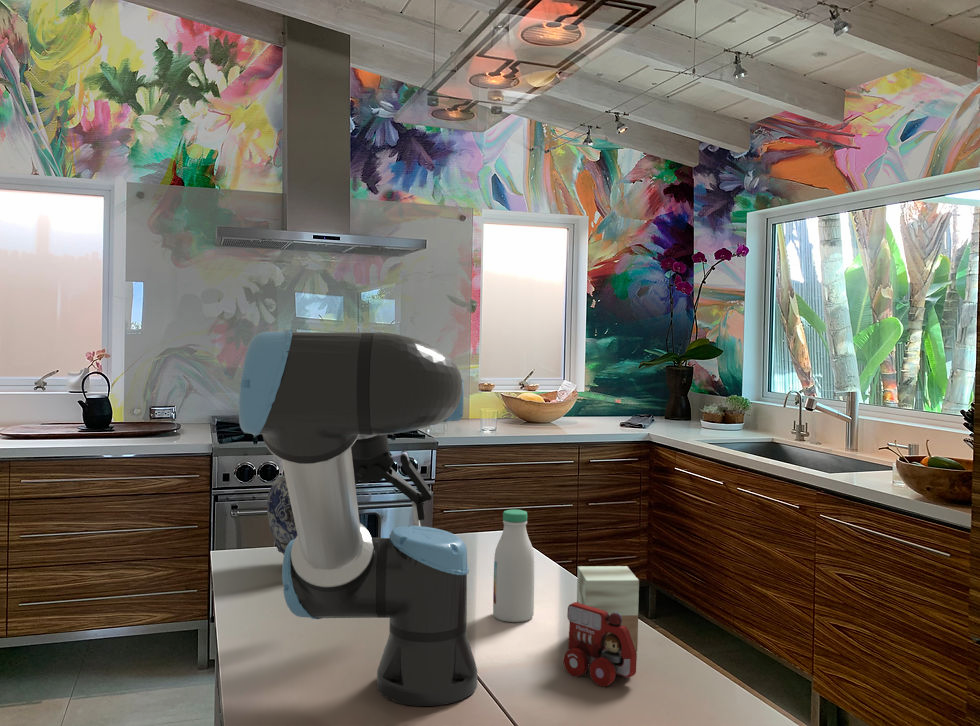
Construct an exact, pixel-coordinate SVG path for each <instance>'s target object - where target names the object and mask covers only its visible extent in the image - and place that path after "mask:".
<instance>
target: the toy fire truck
mask: <svg viewBox="0 0 980 726" xmlns="http://www.w3.org/2000/svg"><path fill="white" fill-rule="evenodd" d="M567 620H568V621H569V627H568V628H569V629H568V645H567V646H568V648H567V651H566V652H565V653H564V656H563V665H564V668H565V671H567V673H568V674H569V675H571V676H572V677H580V676H582V675H584V674H586V673H587V672H588V670H589V675H590V678H591V679H592V681H593V683H595V684H596V685H598V686H599V687H608V686H609V685H612V684H613V682H615V678H616V675H617V676H618V677H624V678H627V679H628V678H631V677H634V676H635V675H636V673H637V660H638V659H637V658H638V653H637V650H635V647H634V644H633V642H632V639H631V636H630V633H629V630H628V628H627V627H626V626H624V625H621V623H622V617H621V615H620V614H618V613H612V614H611V615H610V616H609V614H608V613H607V612H606V611H604V610H601V609H597V608H594V607H590V606H587V605H584V604H580V603H577V601H576V602H572V603H570V604H568V606H567ZM608 633H610V634H608ZM607 634H608V635H607Z"/></svg>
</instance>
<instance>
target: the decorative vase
mask: <svg viewBox="0 0 980 726" xmlns="http://www.w3.org/2000/svg"><path fill="white" fill-rule="evenodd" d="M266 505H267V506H266V507H267V520H268V525H269V528H270V531H271V533H272V537H273V542H274V543H275V546H276V549H277V551H278V552H279V553H281V554H282V555H284V553H285V550H286V547H287V545H288V543H289V542H290V541H291V540H293V539H295V538H296V537H297V530H296V526H295V521H294V516H293V512H292V507H291V502H290V497H289V493H288V488H287V483H286V479H285V474H283V475H282V476H280V477H279V478H278V479H276V480H275V482H274V483H273V484H272V485H271V487H270V489H269V491H268V495H267V503H266Z"/></svg>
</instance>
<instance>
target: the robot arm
mask: <svg viewBox="0 0 980 726" xmlns="http://www.w3.org/2000/svg"><path fill="white" fill-rule="evenodd" d="M464 388H465V386H464V379H463V378H462V375H461V372H460V370H459V368H458V366H457V364H456V363H455V361H454V360H453V359H452V358H451V357H450V356H449V355H447V354H446V353H445V352H443V351H442V350H441V349H439V348H437V347H436V346H433V345H430V343H429V344H428V343H426V342H424V341H421V340H418V339H416V338H413V337H410V336H405V335H401V334H396V333H390V332H376V331H375V332H359V331H357V332H347V331H346V332H341V331H340V332H336V331H335V332H331V331H329V332H326V331H325V332H323V331H321V332H320V331H318V332H317V331H316V332H315V331H310V332H309V331H305V332H304V331H293V330H292V329H286V330H277V331H275V330H273V331H263V332H259V333H258V334H256V335H255V336H253V338H251V340H250V341H249V343H248V347H247V348H246V352H245V355H244V361H243V366H242V371H241V377H240V386H239V395H238V396H239V399H238V420H239V421H238V422H239V427H240V430H241V431H242V432H243V433H246V434H251V435H253V436H254V437H255V436H256V437H257V436H259V435H261V436H262V439H263V443H264V445H265V446H266V448H267V449H268V450H269V452H270V453H271V454H272V455H274V457H276V458H278V459H280V460H281V463H282V468H283V475H285V479H286V483H287V488H288V493H289V497H290V502H291V507H292V512H293V516H294V521H295V526H296V530H297V537H296V538H295V539H293V540H291V541H290V542H289V543H288V545H287V547H286V550H285V553H284V554H283V560H282V568H281V571H282V572H281V578H282V579H281V580H282V584H283V597H284V600H285V603H286V606H287V608H288V609H289V611H290V612H291V613H292V614H293V615H294V616H296V617H298V618H310V619H312V620H321V619H376V618H377V619H378V618H379V619H381V618H383V619H385V618H387V619H389V628H388V629H389V631H388V632H389V633H388V638H387V640H386V644H385V646H384V649H383V653H382V655H381V659H380V661H379V665H378V668H377V671H376V672H377V673H376V688H377V691H378V693H380V695H382V696H383V697H385V698H386V699H388V700H389V701H392V702H395V703H398V704H402V705H406V706H416V707H434V706H435V707H436V706H443V705H448V704H452V703H456V702H457V703H458V702H459V701H463V700H464V699H466V698H468V697H469V696H470V695H472V694H473V693H474V692H475V691H476V690H477V688H478V668H477V665H476V661H475V656H474V654H473V651H472V647H471V645H470V642H469V637H468V635H467V620H468V619H467V616H468V609H467V606H468V605H467V604H468V602H467V601H468V600H467V599H468V595H467V594H468V593H467V592H468V574H469V571H470V568H469V565H468V549H467V545H466V543H465V542H464V540H463V539H462V538H461V537H460V536H458V535H457V534H454V533H452V532H450V531H447V530H445V529H444V530H443V529H439V528H435V527H429V526H422V525H421V521H424V520H425V515H426V512H425V506H424V505H425V502H427V501H431V500H432V497H433V491H432V489H431V488H430V486H429V485H428V483H426V481H425V479H424V478H423V477H422V475H421V474H420V473H419V471H418V469H416V468H415V466H414V465H413V463H412V462H411V460H410V456H409V452H408V451H407V450H405V449H403V450H402V451H401V452H400V453H397V454H392V453H391V451H390V447H389V440H388V435H394V434H400V433H407V432H412V431H413V432H414V431H416V430H421V429H424V428H428V427H433V426H436V425H438V424H441V423H447V422H457V421H458V422H459V421H460V420H462V419H463V417H464V401H465V400H464V396H465V395H464V394H465V393H464ZM394 463H396V464H397V465H398V466H399V467H402V469H403V471H404V472H405V474H406V475H407V476H408V478H409V479H410V480H411V482H412V483H413V484H414V486H415V487H416V488H417V489H416V488H414V487H413V486H412V485H411V484H410V483H409V482H408V481H406V480H405V479H404V478H403V477H401V476H400V475H399V474H398V473H397V472H396V471H395V469H393V467H392V466H393V464H394ZM383 480H384V481H386V482H387V483H388V484H391V485H393V486H394V487H395V488H396V489H397V490H398V491H400V492H401V493H402V494H403V495H404V496H406V497H407V498H408V499H409V500H410V501H412V503H411V510H412V516H413V522H414V525H408V526H406V525H405V526H403V525H401V526H398V527H397V526H396V527H395V528H393V529H392V530H391V532H390V534H389V538H388V537H372V535H371V534H370V532H369V530H368V529H367V527H365V525H364V524H362V523H361V522H360V514H359V505H358V498H357V497H358V496H357V488H356V486H357V484H358V482H360V483H363V484H368V483H371V482H374V483H375V482H376V483H378V482H381V481H383Z"/></svg>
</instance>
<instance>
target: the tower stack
mask: <svg viewBox="0 0 980 726" xmlns="http://www.w3.org/2000/svg"><path fill="white" fill-rule="evenodd" d="M576 579H577V583H576V584H577V585H576V602H577V603H580V604H584V605H587V606H590V607H594V608H597V609H601V610H604V611H606V612H607V613H608V614H609V616H610V615H611V614H612V613H618V614H620V615H621V617H622V623H621V625H624V626H626V627H627V628H628V630H629V633H630V636H631V639H632V642H633V644H634V647H635V650H636V651H638V646H639V645H638V642H639V641H638V639H639V635H638V634H639V633H638V632H639V597H640V595H639V594H640V593H639V591H640V579H639V578H638V577H636V575H635V574H634V572H632V570H631V569H630V568H629V566H627V565H625V566H624V565H623V566H621V565H615V566H614V565H607V566H605V565H604V566H603V565H600V566H599V565H595V566H593V565H592V566H591V565H590V566H589V565H588V566H587V565H586V566H585V565H584V566H583V565H580V566H578V565H577V578H576ZM608 634H610V633H608ZM608 634H607V635H608Z"/></svg>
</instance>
